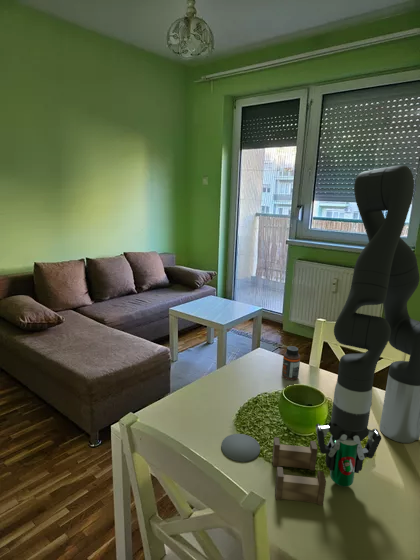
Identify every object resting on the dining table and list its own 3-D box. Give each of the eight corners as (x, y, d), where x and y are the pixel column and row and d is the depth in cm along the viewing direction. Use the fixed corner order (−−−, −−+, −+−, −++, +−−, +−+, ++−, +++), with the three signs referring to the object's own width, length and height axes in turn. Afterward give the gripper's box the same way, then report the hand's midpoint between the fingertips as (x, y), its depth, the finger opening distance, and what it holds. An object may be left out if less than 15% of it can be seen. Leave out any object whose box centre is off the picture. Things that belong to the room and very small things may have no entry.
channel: (312, 462, 90) (315, 441, 88) (323, 505, 77) (326, 481, 76) (272, 458, 91) (274, 437, 89) (275, 499, 78) (278, 476, 77)
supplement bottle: (278, 373, 134) (281, 345, 131) (292, 372, 136) (295, 344, 133) (286, 381, 128) (289, 352, 126) (301, 379, 130) (304, 350, 127)
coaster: (259, 437, 98) (259, 435, 98) (260, 463, 89) (260, 461, 88) (222, 433, 99) (222, 432, 99) (219, 459, 90) (220, 457, 89)
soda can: (334, 468, 86) (340, 424, 83) (356, 478, 83) (362, 433, 80) (326, 480, 82) (331, 434, 80) (348, 492, 79) (355, 445, 76)
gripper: (380, 395, 81) (369, 460, 85) (314, 390, 82) (307, 454, 86) (393, 415, 74) (381, 485, 78) (321, 409, 75) (313, 478, 79)
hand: (342, 468), depth 82 cm, fingers closed on soda can, 5 cm apart
